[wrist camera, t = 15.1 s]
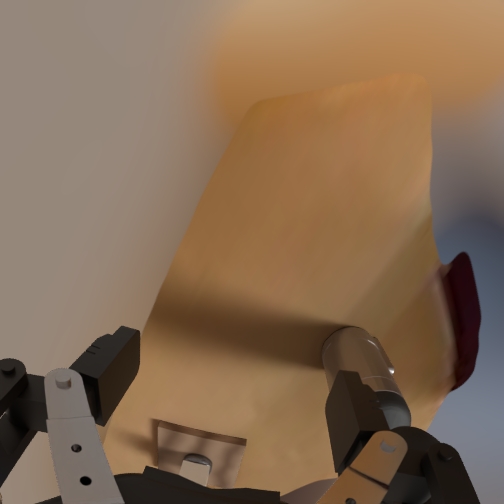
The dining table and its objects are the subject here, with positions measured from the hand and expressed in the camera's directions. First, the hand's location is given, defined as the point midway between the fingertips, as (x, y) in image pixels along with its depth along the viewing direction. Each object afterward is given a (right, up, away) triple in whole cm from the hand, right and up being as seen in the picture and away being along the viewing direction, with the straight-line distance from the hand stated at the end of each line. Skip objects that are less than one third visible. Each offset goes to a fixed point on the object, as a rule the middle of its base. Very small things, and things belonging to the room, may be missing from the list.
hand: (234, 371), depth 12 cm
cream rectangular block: (-11, -41, +44) cm, 61 cm away
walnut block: (-11, -40, +48) cm, 63 cm away
